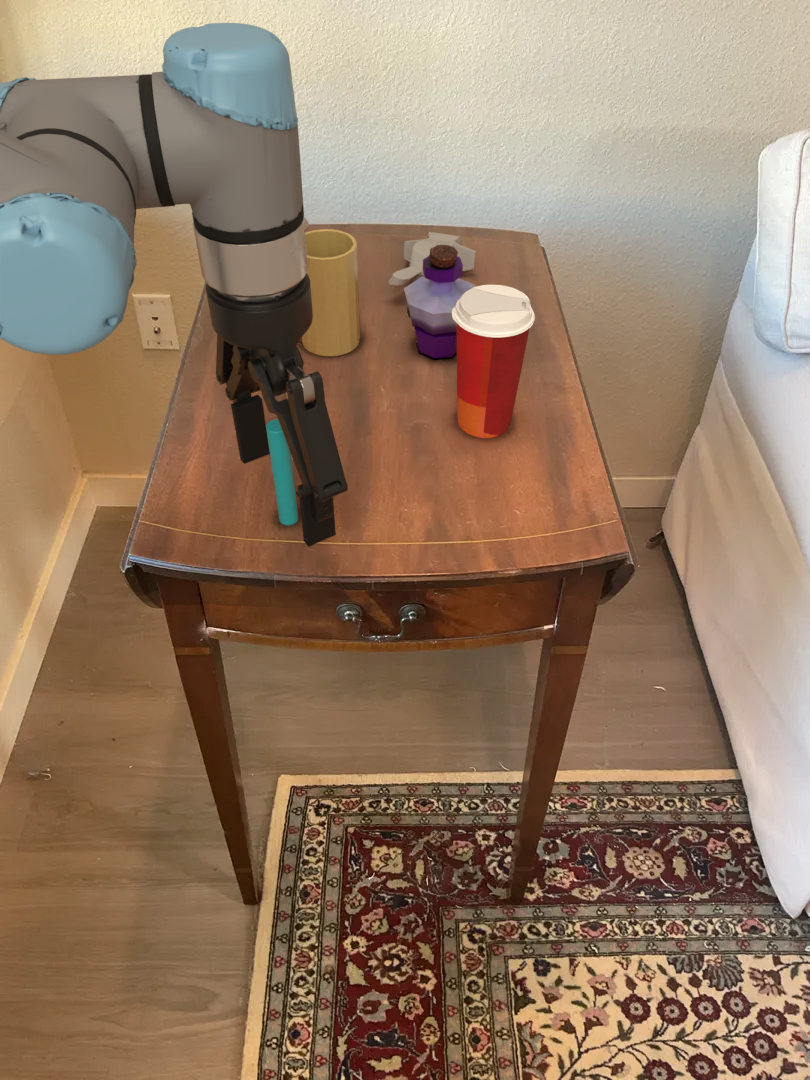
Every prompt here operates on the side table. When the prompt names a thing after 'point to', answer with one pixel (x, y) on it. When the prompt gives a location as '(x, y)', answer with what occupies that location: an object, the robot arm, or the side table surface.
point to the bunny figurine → (421, 250)
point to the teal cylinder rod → (282, 473)
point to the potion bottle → (437, 303)
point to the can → (332, 293)
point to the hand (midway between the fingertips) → (286, 495)
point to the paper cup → (490, 356)
